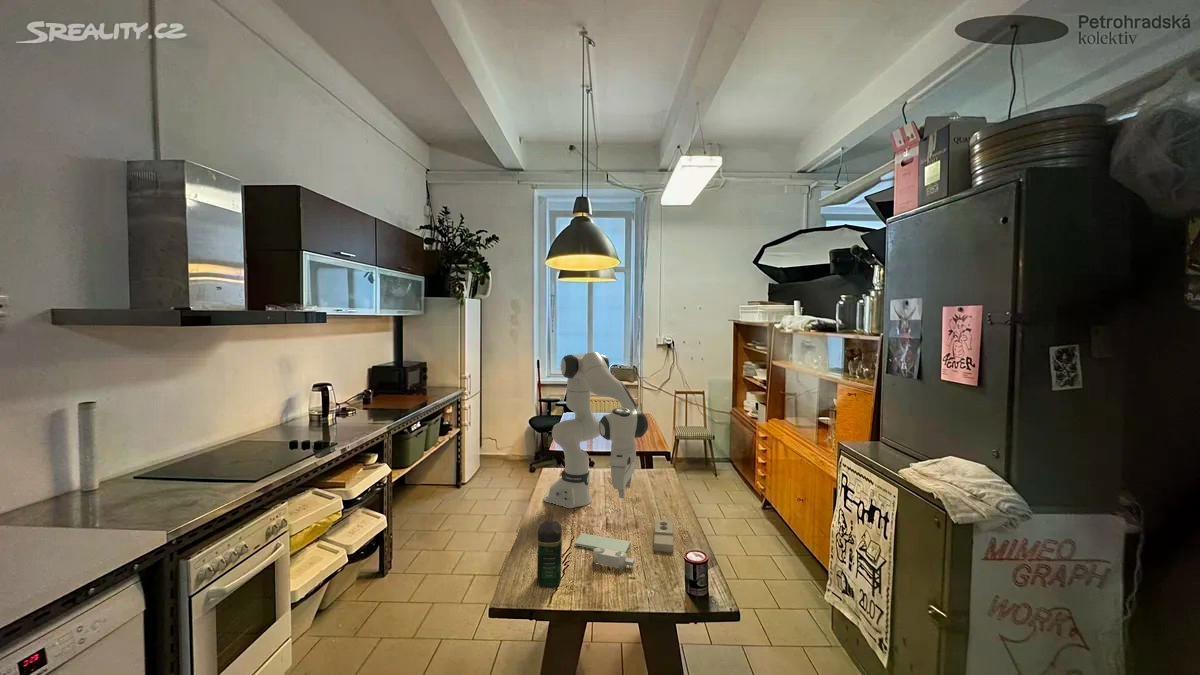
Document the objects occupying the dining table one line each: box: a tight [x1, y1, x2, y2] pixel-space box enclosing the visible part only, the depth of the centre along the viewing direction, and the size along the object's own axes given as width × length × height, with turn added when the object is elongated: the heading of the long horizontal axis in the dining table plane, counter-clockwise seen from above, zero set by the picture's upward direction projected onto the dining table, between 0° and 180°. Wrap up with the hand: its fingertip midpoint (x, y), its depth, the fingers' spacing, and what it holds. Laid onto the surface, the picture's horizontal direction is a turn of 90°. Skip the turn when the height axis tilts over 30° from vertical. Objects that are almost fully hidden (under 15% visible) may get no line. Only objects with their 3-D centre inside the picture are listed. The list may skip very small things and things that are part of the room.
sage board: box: [574, 532, 632, 554], centre depth 170 cm, size 20×8×1 cm, turn 72°
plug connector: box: [592, 548, 635, 570], centre depth 157 cm, size 15×4×4 cm, turn 72°
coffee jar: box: [536, 520, 563, 588], centre depth 147 cm, size 10×8×19 cm
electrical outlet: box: [653, 519, 674, 553], centre depth 175 cm, size 7×4×18 cm
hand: (625, 492), depth 160 cm, fingers open, 8 cm apart
